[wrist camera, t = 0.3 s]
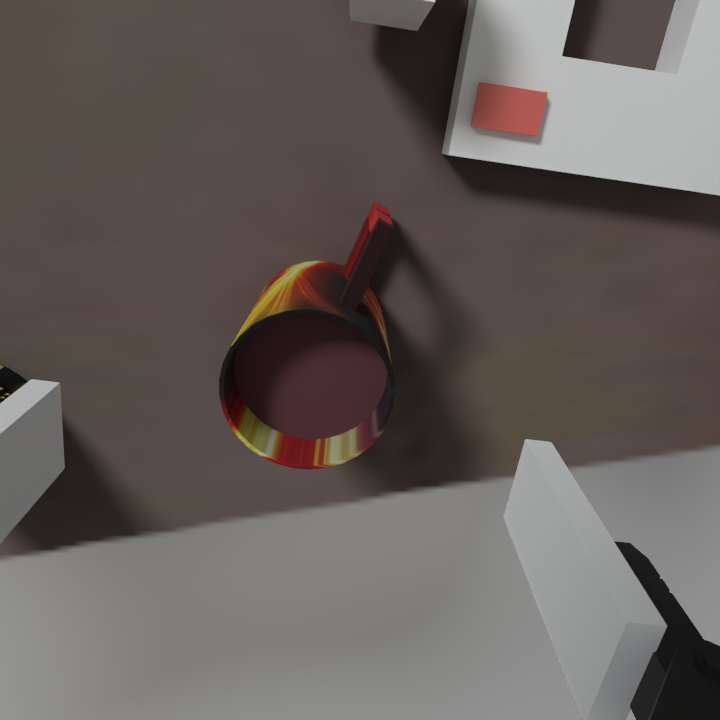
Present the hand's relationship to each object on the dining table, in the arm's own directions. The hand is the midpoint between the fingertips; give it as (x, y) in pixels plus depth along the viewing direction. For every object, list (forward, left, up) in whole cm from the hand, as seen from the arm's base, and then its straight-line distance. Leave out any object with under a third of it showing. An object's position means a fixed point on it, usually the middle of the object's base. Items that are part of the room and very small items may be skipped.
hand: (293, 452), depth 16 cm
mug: (+3, 0, -27) cm, 27 cm away
